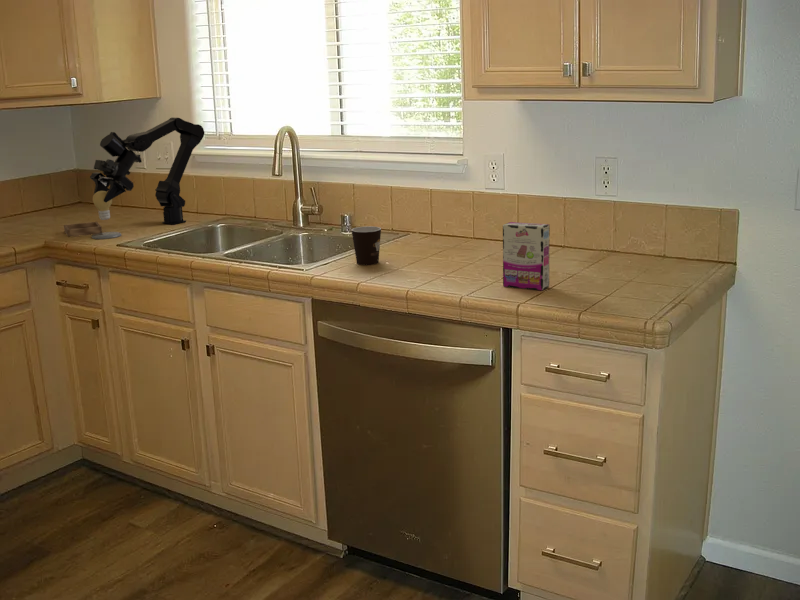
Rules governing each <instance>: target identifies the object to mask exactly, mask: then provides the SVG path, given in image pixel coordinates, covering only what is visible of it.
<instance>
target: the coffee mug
mask: <svg viewBox="0 0 800 600" xmlns="http://www.w3.org/2000/svg"><path fill="white" fill-rule="evenodd" d="M381 235H382V228H381V227H378V226H372V225H371V226H369V225H368V226H366V225H365V226H358V227H354V228H351V236H352V241H353V247H354V248H353V249H354V253H355V254H354V255H355V260H356V264H357V265H359V266H374V265H377V264H378V263H379V262H380V261H379V260H380V248H381V247H380V246H381Z"/></svg>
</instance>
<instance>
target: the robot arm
mask: <svg viewBox="0 0 800 600" xmlns="http://www.w3.org/2000/svg"><path fill="white" fill-rule="evenodd" d="M174 131H175V132H176V133H178V134H179V139H180V141H179V142H180V145H179V148H178V150H177V152H176V154H175V158H174V160H173V163H172V164H171V167H170V170H169V172H168V174H167V177H166V178H165V179H164V180H159V181H158V184H157V187H156V188H155V198H156V201H157V202H158V203H159V205H160V207H162V208H163V212H162V215H163V221H161V224H165V225H178V224H183V223H186V222H187V220H185V219H184V215H183V214H184V213H183V207H185V206H186V200H185V199H184V198H183V197H182V196H180V194H181V185H180V184H181V180H182V178H183V175H184V173H185V170H186V168H187V165H188V163H189V160H190V158H191V155H192V153H193V150H194V149H195V148H196V147H197V146H198V145H200V143H201V141H202V140H203V138H204V136H205V129H204V128H203V126H202V124H194V123H193V122H189V121H186V120H185V119H182V118H180V117H169V118H168V119H167V120H165V121H164V122H161V123H160V124H157V125H156V126H154V127H152V128H150V129H148V130H146V131H142V132H137V133H133V134H130V135H128V136H126V137H125V139H122V138H120V136H119V135H118V134H117V133H116V132H114V131H111V132H110V133H109V134H107V135H106V136H105V137H103V138H101V140H100V143H99V146H100V147H101V148H102V149H103V151H105V152H107V153H108V154H109V155H110V156H111V157H113V158H114V157H116V159H115V160H112V159H108V158H107V159H106V160H102V159H101V160H100V159H95V162H94V165H93V170H98V171H101V172H102V173H101V172H92V173H91V175H90V176H89V179H91V180H92V181H93V182H94V184H95V185H94V186H95V187H94V190H93V191H94V192H93V195H94V194H95V193H96V192H98V191H106V192H107V194H106V196H105V198H104V200H103V201H104V202H108V201H110V200H111V199H112V200H113V199H114V198H116V197H118V196H119V195H122V194H123V193H126V192H128V191H129V192H132V190H133V189H134V185H135V184H134V182H133V181H132V180H131V179H129V178H128V177H127V176H130V175H131V172H130V170H131V168H132V167H133V165H134V164H135V163H140V164H141V163H142V158H141V154H137V153H136V152H138V153H139V152H141V153H143V152H146V150H148V149H149V148H150V147H151V146H152V145H153V144H154V143H155V142H156V141H158V140H159V139H161V138H163V137H165V136H167V135H169V134H170V133H173V132H174ZM109 186H110V187H109Z"/></svg>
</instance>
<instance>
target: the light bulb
mask: <svg viewBox="0 0 800 600" xmlns="http://www.w3.org/2000/svg"><path fill="white" fill-rule="evenodd" d="M107 192H108V191H107ZM107 192H106V191H98V192H96V193H95V194H94V193H93V195H92V203H93V205H94V206H95V208H96V209H97V210H98V212H97V213H98V218H99V219H100V220H101V221H105V220H109V219H110V218H111V213H110V211H111V210H110V207H111V206H112V203H113V199H111V200H110V201H108V202H104V201H103V200H104V198H105V196H106V194H107Z"/></svg>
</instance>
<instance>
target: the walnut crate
mask: <svg viewBox="0 0 800 600" xmlns="http://www.w3.org/2000/svg"><path fill="white" fill-rule="evenodd" d="M63 228H64V229H63V230H64V233H65V234H67V235H66V236H67V237H68V236H74V237H80V236H79V235H84V236H90V235H91V234H93V235H94V234H97V233H103V229H102V226H101V224H100V223H99V222H98V221H89V222H81V223H71V224H64V225H63ZM91 236H92V235H91Z"/></svg>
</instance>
